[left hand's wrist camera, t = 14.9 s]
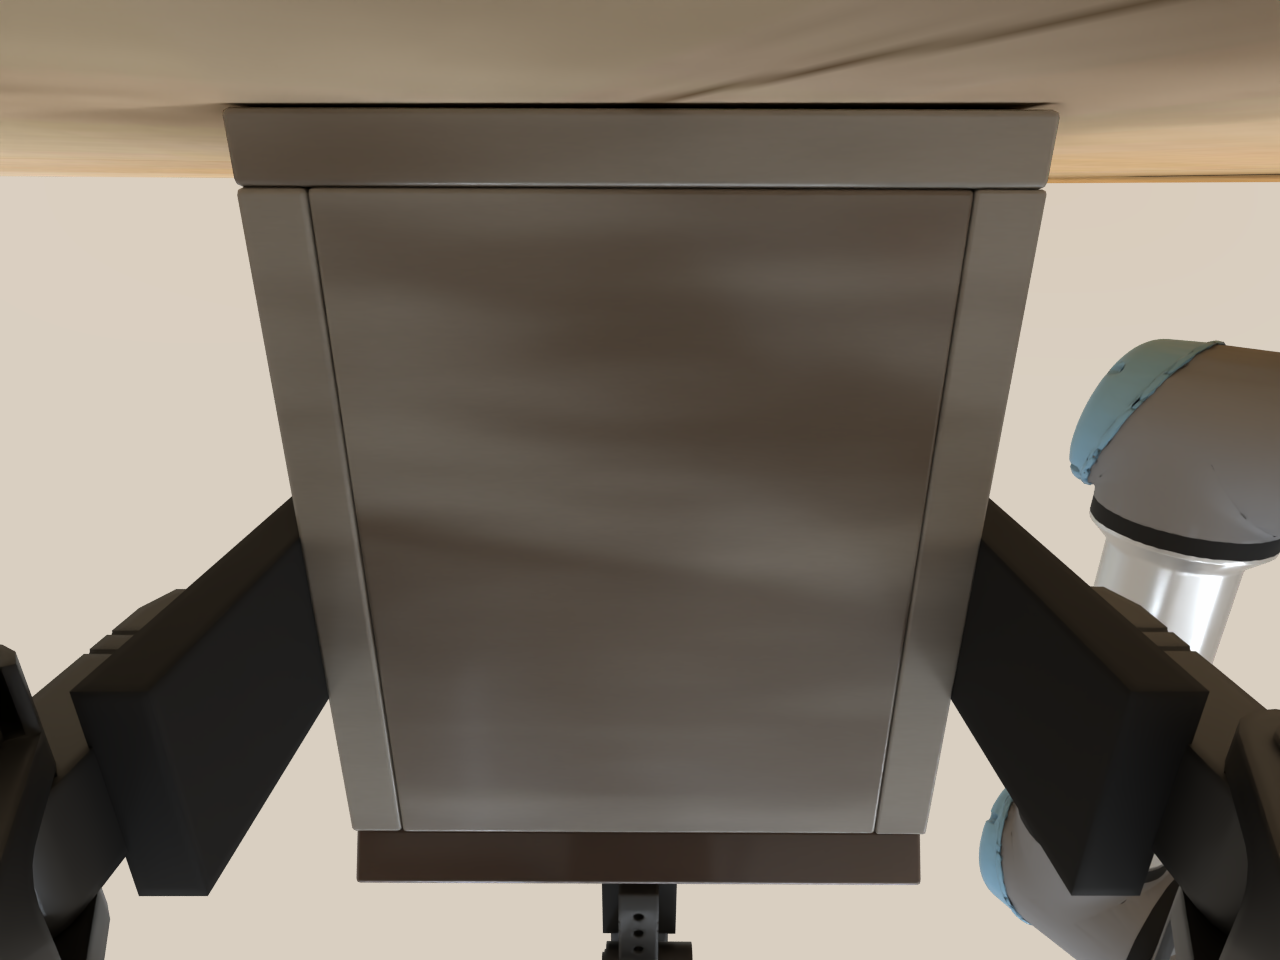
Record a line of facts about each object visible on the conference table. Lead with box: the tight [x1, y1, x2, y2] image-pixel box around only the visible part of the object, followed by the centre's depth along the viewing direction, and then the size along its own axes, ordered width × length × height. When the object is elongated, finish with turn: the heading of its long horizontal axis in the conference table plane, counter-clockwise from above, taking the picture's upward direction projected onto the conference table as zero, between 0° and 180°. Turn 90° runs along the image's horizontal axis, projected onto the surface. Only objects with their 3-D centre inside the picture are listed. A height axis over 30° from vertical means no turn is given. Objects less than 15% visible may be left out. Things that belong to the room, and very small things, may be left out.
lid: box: [357, 826, 920, 885], centre depth 21 cm, size 18×10×8 cm, turn 179°
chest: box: [223, 107, 1059, 834], centre depth 18 cm, size 17×10×11 cm, turn 0°
